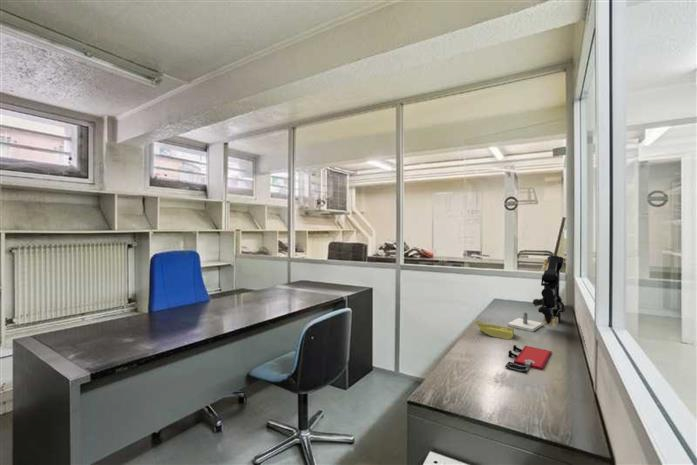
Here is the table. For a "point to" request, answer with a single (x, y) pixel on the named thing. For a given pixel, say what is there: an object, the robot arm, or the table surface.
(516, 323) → the post plate
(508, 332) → the plastic component
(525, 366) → the red board with handle
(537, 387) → the table surface
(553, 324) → the collar
